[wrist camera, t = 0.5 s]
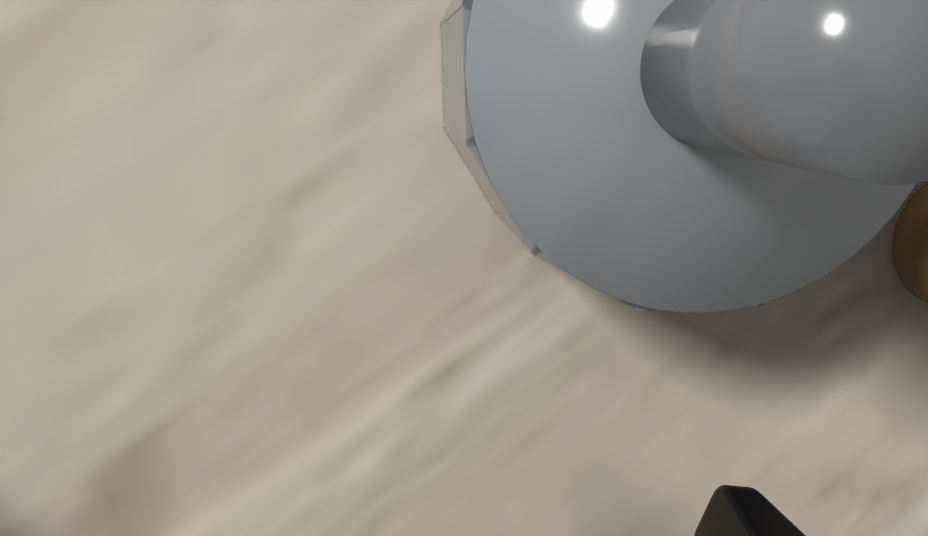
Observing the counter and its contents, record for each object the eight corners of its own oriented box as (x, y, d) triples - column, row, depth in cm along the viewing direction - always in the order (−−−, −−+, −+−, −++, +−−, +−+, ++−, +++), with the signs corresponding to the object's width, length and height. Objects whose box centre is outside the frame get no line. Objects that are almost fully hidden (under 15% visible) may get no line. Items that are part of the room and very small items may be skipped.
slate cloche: (796, 248, 23) (1208, 409, 12) (446, 264, 23) (521, 456, 11) (820, -132, 21) (1359, -395, 10) (435, -131, 20) (511, -422, 9)
